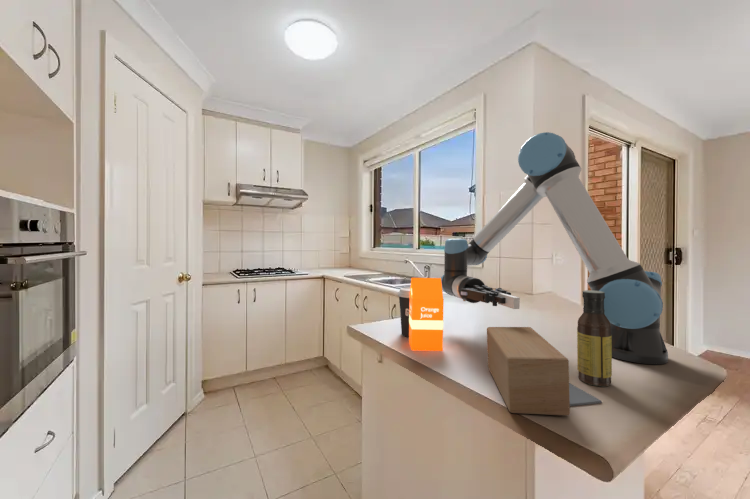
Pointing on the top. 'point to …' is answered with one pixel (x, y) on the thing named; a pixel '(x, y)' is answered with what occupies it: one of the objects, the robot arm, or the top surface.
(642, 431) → the top surface
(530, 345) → the wooden block
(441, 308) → the orange juice
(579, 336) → the sauce bottle
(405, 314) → the coffee cup
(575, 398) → the mat
